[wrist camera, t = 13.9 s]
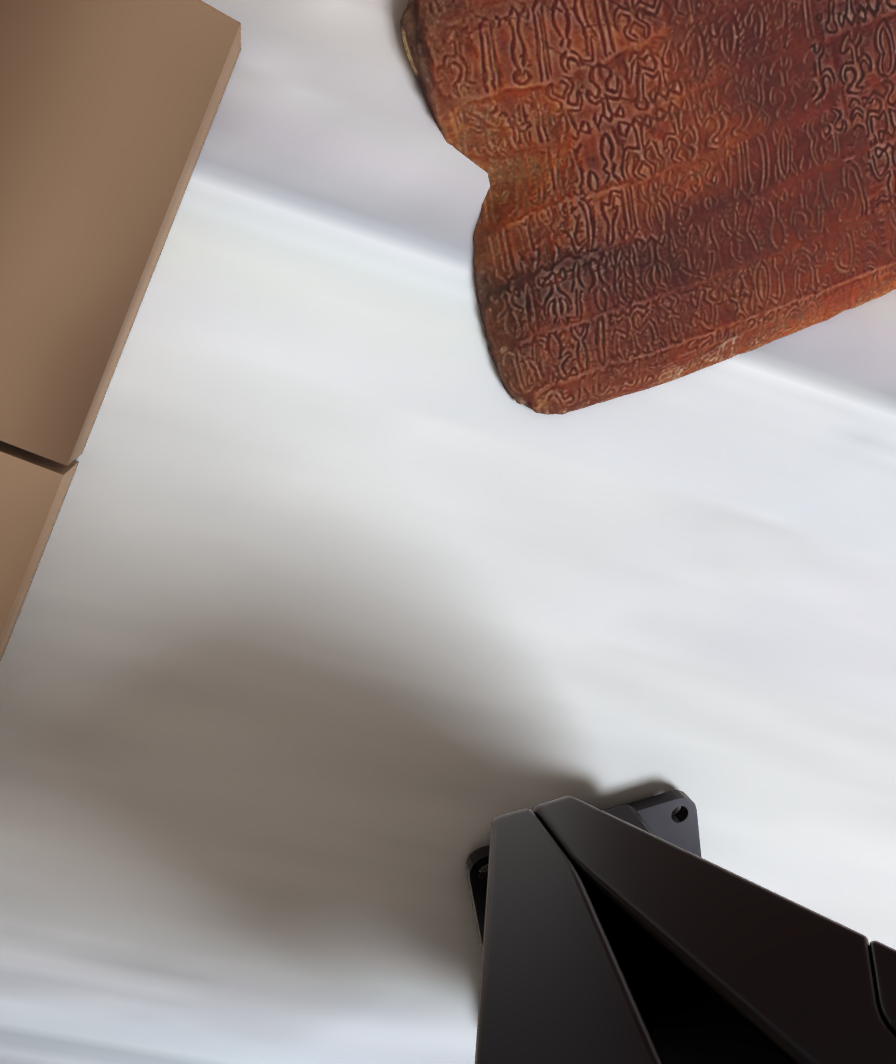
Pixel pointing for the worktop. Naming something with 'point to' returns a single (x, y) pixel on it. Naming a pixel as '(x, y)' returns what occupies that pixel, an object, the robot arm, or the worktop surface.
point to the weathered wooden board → (85, 222)
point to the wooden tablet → (663, 176)
